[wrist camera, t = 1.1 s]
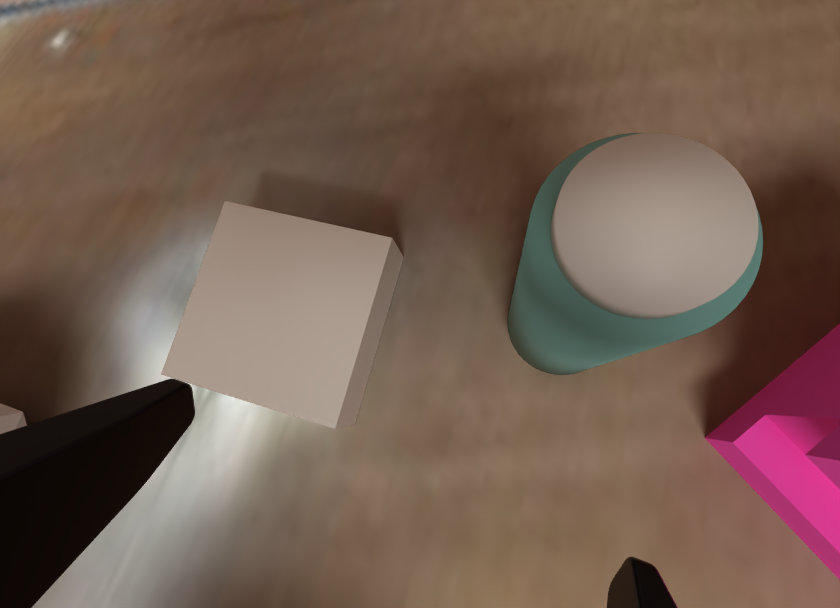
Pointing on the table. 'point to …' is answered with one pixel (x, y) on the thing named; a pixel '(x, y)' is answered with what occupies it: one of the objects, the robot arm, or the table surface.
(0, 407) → the die
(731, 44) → the table surface
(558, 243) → the thermos
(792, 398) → the bracket
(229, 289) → the block
